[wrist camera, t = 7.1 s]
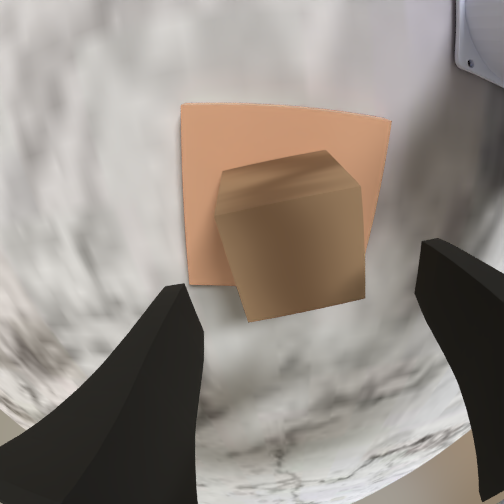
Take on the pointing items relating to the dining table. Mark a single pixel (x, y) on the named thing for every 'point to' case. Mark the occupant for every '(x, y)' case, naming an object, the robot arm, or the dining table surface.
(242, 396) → the dining table surface
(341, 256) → the walnut cube
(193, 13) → the dining table surface
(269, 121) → the terracotta tile
